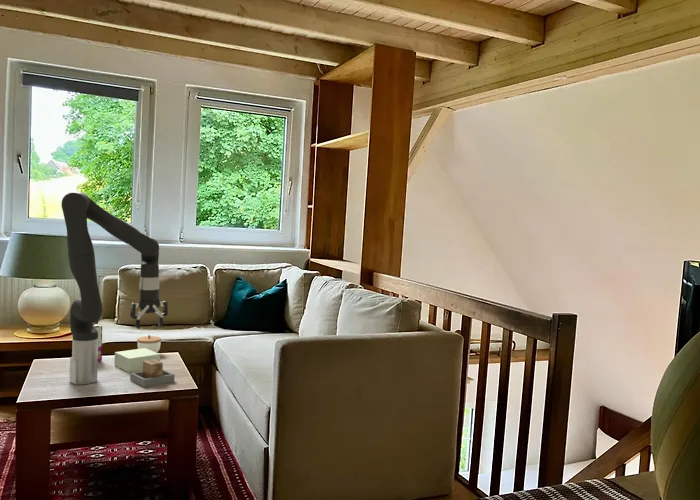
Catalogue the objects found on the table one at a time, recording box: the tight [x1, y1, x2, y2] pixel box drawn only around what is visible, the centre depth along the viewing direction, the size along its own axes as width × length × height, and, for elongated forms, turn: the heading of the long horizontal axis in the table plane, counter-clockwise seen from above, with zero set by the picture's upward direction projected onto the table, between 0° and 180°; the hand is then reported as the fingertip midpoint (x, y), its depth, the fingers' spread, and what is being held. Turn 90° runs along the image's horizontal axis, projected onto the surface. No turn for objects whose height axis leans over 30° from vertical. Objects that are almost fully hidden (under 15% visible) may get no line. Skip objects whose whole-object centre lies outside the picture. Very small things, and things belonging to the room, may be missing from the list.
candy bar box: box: [93, 323, 103, 362], centre depth 253 cm, size 11×5×16 cm, turn 143°
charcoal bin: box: [129, 369, 175, 388], centre depth 230 cm, size 13×12×3 cm
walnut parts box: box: [142, 359, 164, 379], centre depth 230 cm, size 5×7×8 cm
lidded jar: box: [136, 334, 162, 353], centre depth 272 cm, size 11×11×9 cm
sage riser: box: [114, 348, 161, 373], centre depth 250 cm, size 14×14×6 cm
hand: (149, 327), depth 230 cm, fingers open, 8 cm apart
